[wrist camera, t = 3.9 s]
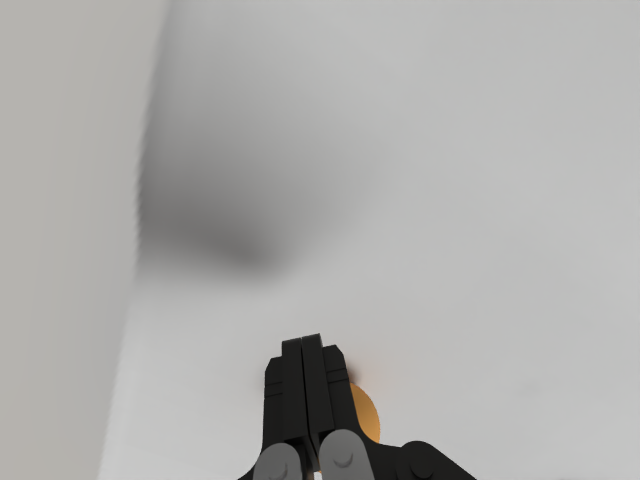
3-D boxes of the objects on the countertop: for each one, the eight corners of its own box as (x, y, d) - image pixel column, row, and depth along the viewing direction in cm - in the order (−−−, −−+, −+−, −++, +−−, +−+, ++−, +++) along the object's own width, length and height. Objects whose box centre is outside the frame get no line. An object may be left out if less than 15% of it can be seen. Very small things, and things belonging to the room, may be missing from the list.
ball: (287, 371, 19) (289, 461, 15) (365, 356, 19) (389, 441, 15) (302, 414, 22) (307, 501, 17) (371, 401, 22) (392, 484, 18)
